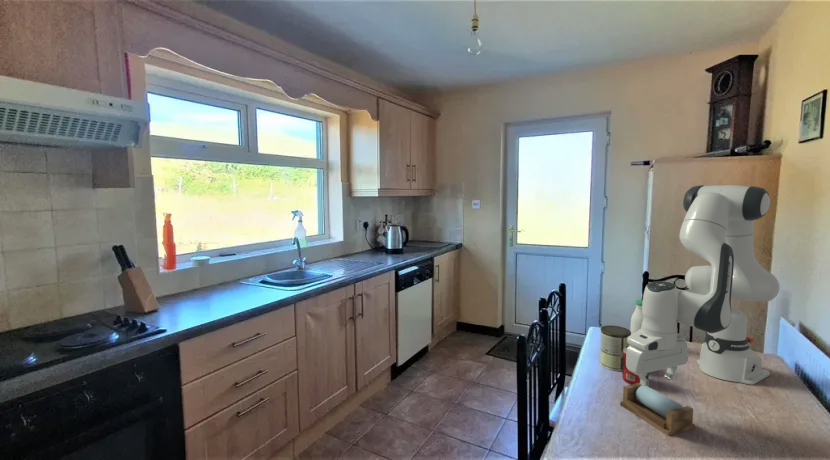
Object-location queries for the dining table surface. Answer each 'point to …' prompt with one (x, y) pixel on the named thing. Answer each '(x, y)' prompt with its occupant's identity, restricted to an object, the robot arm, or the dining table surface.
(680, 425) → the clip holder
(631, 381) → the canned food
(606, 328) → the coffee can
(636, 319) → the milk bottle
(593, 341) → the dining table surface
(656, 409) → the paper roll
